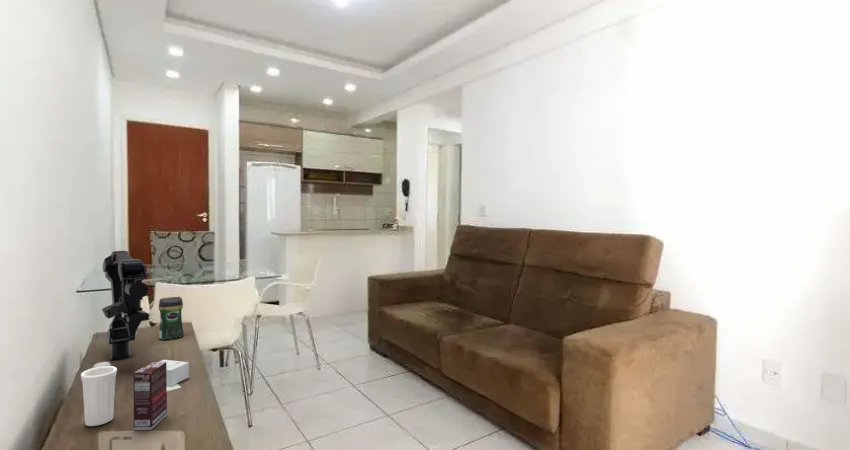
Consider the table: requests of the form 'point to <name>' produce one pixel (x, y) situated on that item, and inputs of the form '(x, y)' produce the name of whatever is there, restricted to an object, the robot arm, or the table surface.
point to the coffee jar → (170, 318)
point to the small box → (176, 371)
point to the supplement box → (150, 395)
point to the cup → (98, 394)
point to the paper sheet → (173, 387)
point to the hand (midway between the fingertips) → (131, 336)
